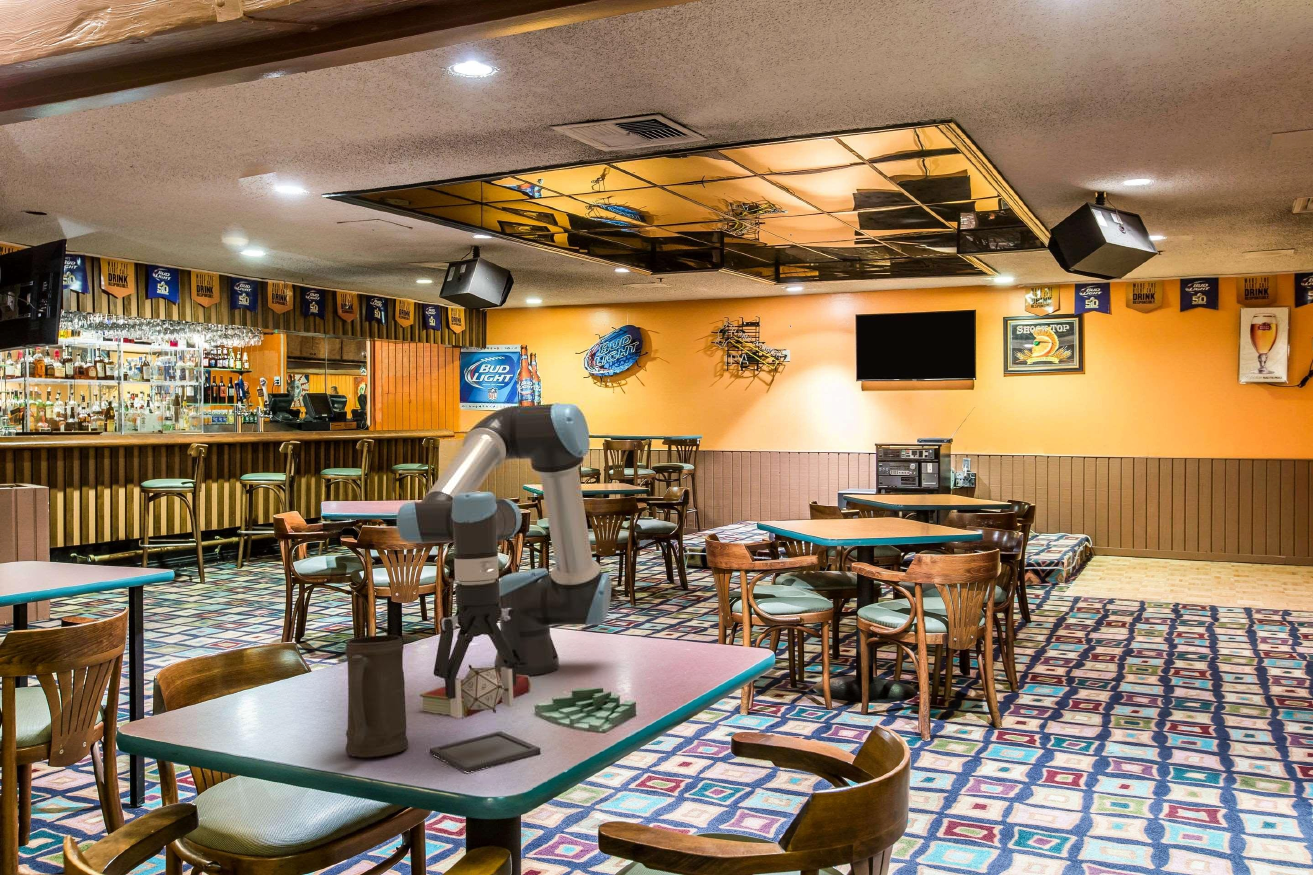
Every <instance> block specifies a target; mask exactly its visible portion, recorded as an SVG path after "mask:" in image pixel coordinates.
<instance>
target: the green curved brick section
mask: <svg viewBox="0 0 1313 875" xmlns="http://www.w3.org/2000/svg"><path fill="white" fill-rule="evenodd" d="M620 698H621V695H620V694H616V693H613V694H612V691H611V690H609V691H604V687H603V686H602V687H601V686H600V687H583V688H581V687H580V688H577V689H571V695H566V696H565V695H564V696H555V697H551V700H552V702H542V703H541V702H539V703H536V704H534V707H533V708H534V715H536V716H538V717H540V718H541V719H544V720H546V721H548V722H551V723H553V724H555V725H559V726H561V725H562V726H561V727H566V728H569V729H573V730H577V729H578V731H583V730H584V731H585V732H592V733H600V734H602V733H607V732H609V731H611V730H612V729H613V728H614V726H615V727H618V726H619V725H621V724H624V723H625V722H627V721H628V720H629V719H631V718H634V717H636V716H637V701H635V700H628V699H627V700H625V701H623V702H621V699H620ZM620 702H621V703H620ZM610 729H611V730H610Z"/></svg>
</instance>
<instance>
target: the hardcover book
mask: <svg viewBox="0 0 1313 875" xmlns="http://www.w3.org/2000/svg"><path fill="white" fill-rule="evenodd" d="M498 674H499V676H500V678H501V673H498ZM464 679H465V678H464ZM464 679H461V683H462V682H463V680H464ZM445 692H446V691H445V685H443V686H440V687H437V688H435V689H432V690H430V691H426V692H423V693H420V694H419V697H421V698H422V711H429V712H428V713H430V712H435V713H434V714H438V713H442V714H441V715H445V714H451V705H450V699H449V698H447V697H446V694H445ZM530 692H531V680H530V676H526V675H517V674H516V685H514V686H513V699H515V698H519V697H520V696H523V695H525V693H526V694H528V693H530ZM461 701H462V716H464V717H465V718H464V717H463V718H464V719H466V718H469V717H471V716H473V714H474V715H475V714H479V713H481V712H483V711H485V710H470V711H469V713H468V714H466V711H467V710H468V707H467V705H466V703H465V701H464V699H463V696H462V694H461ZM498 705H502V696H501V698H500V700H499V701H498V703H497V705H496V706H498ZM468 716H469V717H468Z"/></svg>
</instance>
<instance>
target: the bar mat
mask: <svg viewBox="0 0 1313 875" xmlns="http://www.w3.org/2000/svg"><path fill="white" fill-rule="evenodd" d="M430 754H432V755H435V756H437V757H439V758H440V759H442V760H445V761H446V762H448V763H449V764H448V763H447V764H448V765H450V764H451V765H450V766H452V767H453V766H455V767H457V768H459V769H461V770H463V771H466V772H471V771H475V772H477V771H476V770H478V771H480V770H479V769H482V768H486V767H489V768H492V767H491V766H493V767H496V766H497V767H498V766H500V764H501V765H503V764H508V763H511V762H515V761H519V760H522V759H526V758H529V757H534V756H537V755H541V747H539V746H538V745H537V746H536V745H534V744H532V743H530V742H527V741H525V740H523V739H520V738H517V737H516V736H512V735H510V734H507V733H506V732H503V731H501V730H500V731H496V732H491V733H488V734H483V735H480V736H475V737H471V738H467V739H463V740H459V741H455V742H450V743H447V744H443V745H438V746H434V747H431V748H429V755H430ZM432 755H431V756H432ZM440 759H439V760H440ZM442 760H441V761H442ZM446 762H445V763H446ZM507 762H508V763H507ZM455 767H454V768H455ZM457 768H456V769H457ZM459 769H458V770H459ZM486 769H487V768H486ZM461 770H460V771H461ZM482 770H483V769H482ZM463 771H462V772H463ZM471 773H472V772H471Z"/></svg>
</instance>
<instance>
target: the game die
mask: <svg viewBox="0 0 1313 875" xmlns="http://www.w3.org/2000/svg"><path fill="white" fill-rule="evenodd" d="M497 667H498V664H496V665H495V666H493V667H473V666H472V664H468V669H469V671H468V672H467V673H466V675H465V677H464V680H463V679H462V680H463V682H462V683H461V694H462V696H463V699H464V701H465V703H466V705H467V707H468V710H467V711H466V714H468V713H469V711H470V710H484V711H488V710H489V711H490V710H492V713H494V714H497V710H496V709H495V708H496V707H497V706H498V705H497V703H498V701H499V700H500V698H501V696H502V695H503V693H504V691H508V690H509V689H508V688H506V689H505V687H504V685H503V683H502V681H501V678H500V676H499V674H498V672H497V669H496V668H497Z"/></svg>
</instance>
